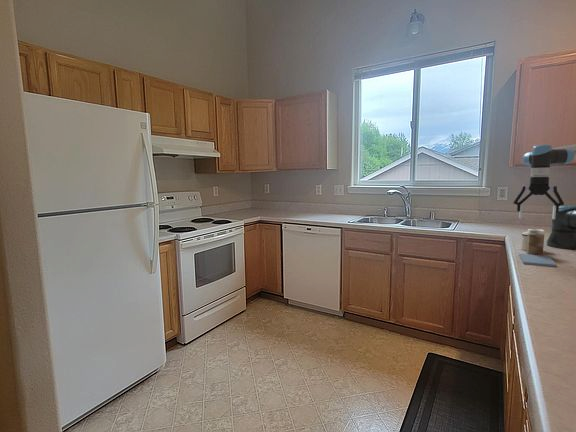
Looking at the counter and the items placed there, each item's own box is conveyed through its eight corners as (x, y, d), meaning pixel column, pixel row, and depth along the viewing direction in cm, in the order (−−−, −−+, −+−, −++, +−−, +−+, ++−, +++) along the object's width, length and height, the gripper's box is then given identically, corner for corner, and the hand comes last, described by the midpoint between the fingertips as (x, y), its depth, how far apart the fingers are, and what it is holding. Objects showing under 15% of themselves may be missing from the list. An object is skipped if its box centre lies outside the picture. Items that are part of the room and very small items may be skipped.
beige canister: (540, 254, 167) (542, 229, 166) (542, 256, 162) (544, 231, 160) (526, 252, 170) (528, 228, 169) (528, 255, 165) (529, 230, 164)
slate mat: (548, 257, 159) (548, 255, 159) (556, 266, 144) (556, 264, 144) (518, 255, 165) (519, 253, 165) (523, 263, 150) (523, 261, 150)
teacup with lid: (541, 252, 170) (543, 231, 168) (520, 250, 175) (521, 229, 174) (540, 248, 179) (542, 227, 178) (520, 246, 185) (522, 226, 183)
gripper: (510, 176, 164) (507, 218, 167) (574, 176, 152) (570, 220, 154) (509, 176, 171) (506, 216, 173) (570, 176, 158) (566, 218, 161)
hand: (536, 218), depth 164 cm, fingers open, 13 cm apart
